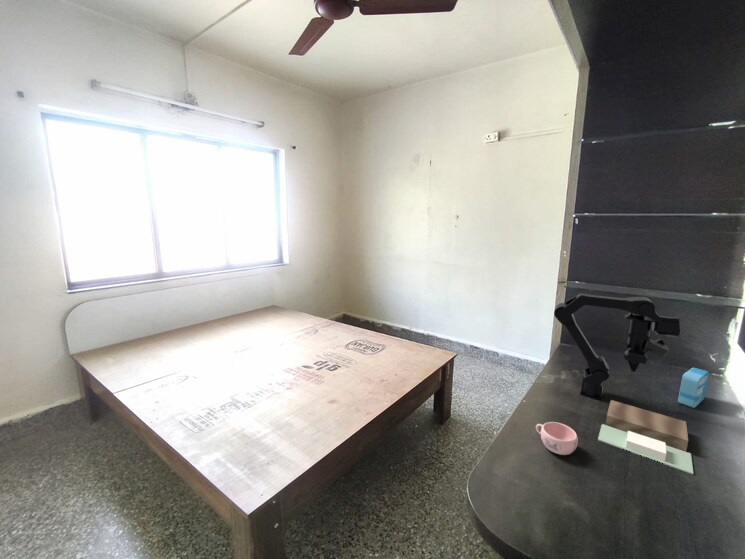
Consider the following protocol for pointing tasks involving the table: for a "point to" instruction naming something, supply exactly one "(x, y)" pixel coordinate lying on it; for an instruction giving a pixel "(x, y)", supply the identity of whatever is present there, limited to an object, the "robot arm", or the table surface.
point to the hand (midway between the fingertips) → (633, 371)
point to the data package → (693, 387)
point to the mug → (558, 437)
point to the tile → (646, 445)
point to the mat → (672, 459)
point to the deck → (648, 424)
